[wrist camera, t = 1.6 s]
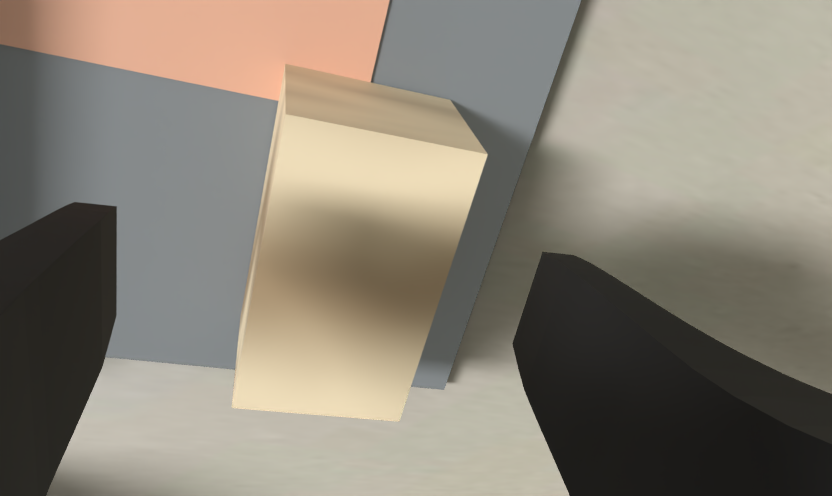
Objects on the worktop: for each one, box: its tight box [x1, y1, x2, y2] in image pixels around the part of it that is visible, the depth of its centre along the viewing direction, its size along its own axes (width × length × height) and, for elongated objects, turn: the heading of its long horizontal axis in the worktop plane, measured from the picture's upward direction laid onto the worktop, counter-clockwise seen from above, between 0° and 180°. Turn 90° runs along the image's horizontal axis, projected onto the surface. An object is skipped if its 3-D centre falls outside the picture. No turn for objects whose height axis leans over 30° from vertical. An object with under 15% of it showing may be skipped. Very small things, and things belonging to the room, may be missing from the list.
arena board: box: [0, 0, 581, 390], centre depth 16 cm, size 20×16×4 cm
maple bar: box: [232, 64, 488, 422], centre depth 18 cm, size 8×4×4 cm, turn 165°
